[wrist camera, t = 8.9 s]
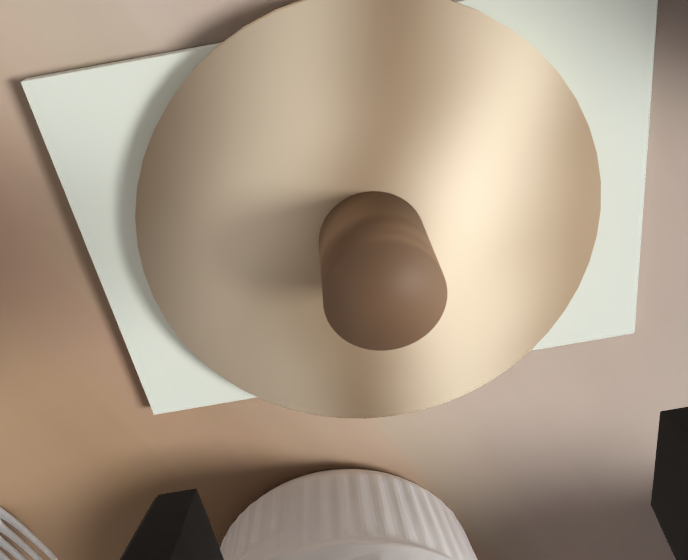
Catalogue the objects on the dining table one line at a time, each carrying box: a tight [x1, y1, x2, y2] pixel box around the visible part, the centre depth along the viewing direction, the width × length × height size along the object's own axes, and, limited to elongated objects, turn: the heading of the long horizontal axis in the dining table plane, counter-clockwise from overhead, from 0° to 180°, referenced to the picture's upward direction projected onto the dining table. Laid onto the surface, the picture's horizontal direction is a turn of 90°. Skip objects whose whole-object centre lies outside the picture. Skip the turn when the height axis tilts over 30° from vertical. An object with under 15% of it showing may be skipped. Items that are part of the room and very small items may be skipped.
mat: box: [21, 0, 658, 415], centre depth 19 cm, size 16×11×1 cm
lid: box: [135, 0, 601, 418], centre depth 17 cm, size 13×13×4 cm
